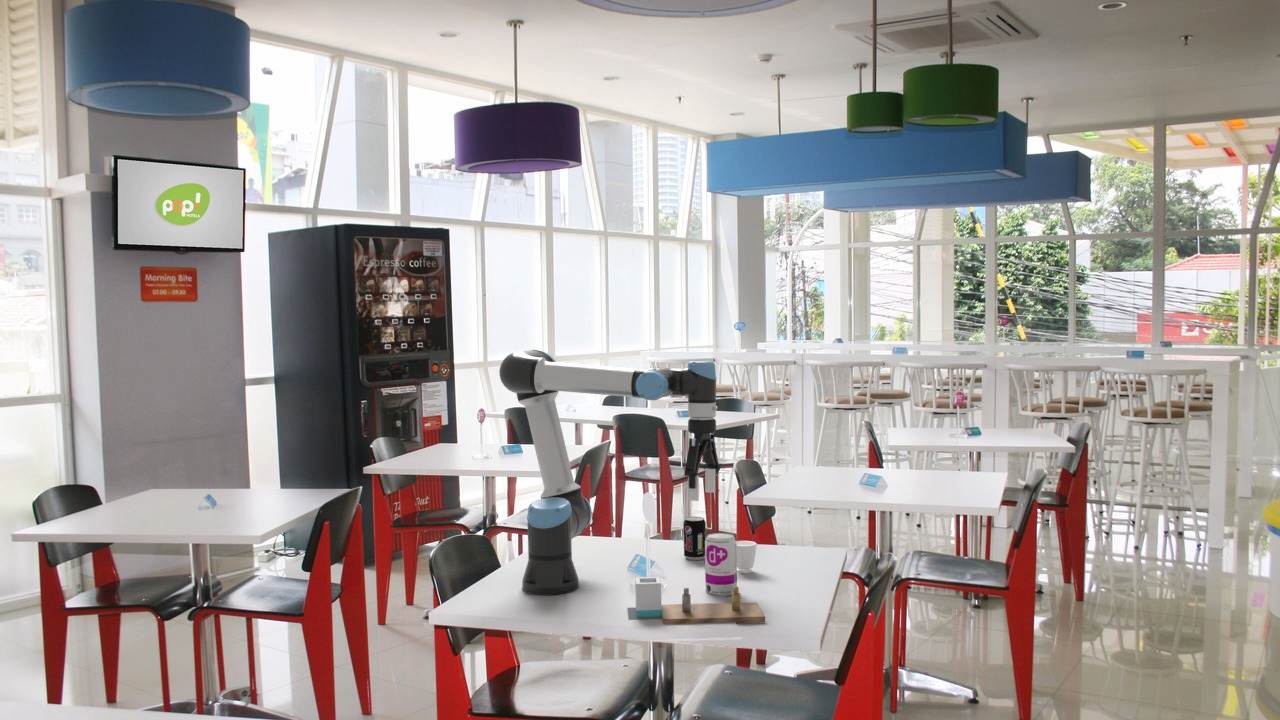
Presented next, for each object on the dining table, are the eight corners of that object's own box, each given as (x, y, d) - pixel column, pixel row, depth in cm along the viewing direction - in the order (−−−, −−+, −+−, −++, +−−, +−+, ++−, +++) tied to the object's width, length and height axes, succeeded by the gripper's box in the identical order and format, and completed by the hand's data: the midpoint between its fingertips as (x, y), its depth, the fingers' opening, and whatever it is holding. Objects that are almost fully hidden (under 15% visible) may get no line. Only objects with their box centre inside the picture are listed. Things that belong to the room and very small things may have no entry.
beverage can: (706, 560, 293) (706, 520, 292) (684, 560, 293) (683, 520, 292) (705, 555, 299) (705, 516, 299) (683, 555, 300) (683, 516, 299)
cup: (755, 575, 275) (755, 546, 275) (720, 573, 277) (719, 545, 277) (758, 568, 282) (758, 541, 282) (723, 567, 284) (723, 539, 284)
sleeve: (636, 617, 235) (636, 583, 235) (635, 609, 241) (635, 577, 241) (661, 616, 236) (661, 583, 235) (660, 609, 242) (659, 576, 241)
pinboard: (663, 625, 230) (662, 595, 229) (660, 610, 242) (659, 582, 241) (765, 622, 231) (765, 593, 230) (757, 608, 243) (756, 580, 242)
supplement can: (728, 598, 252) (727, 540, 251) (699, 594, 256) (699, 537, 256) (742, 591, 259) (741, 534, 258) (714, 587, 263) (713, 531, 262)
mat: (628, 621, 233) (628, 619, 233) (627, 609, 243) (627, 607, 243) (670, 620, 234) (670, 618, 234) (667, 608, 244) (667, 606, 244)
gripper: (699, 423, 252) (699, 505, 253) (729, 414, 275) (729, 489, 276) (672, 421, 255) (672, 503, 256) (704, 413, 278) (704, 488, 279)
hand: (702, 496), depth 266 cm, fingers open, 13 cm apart
